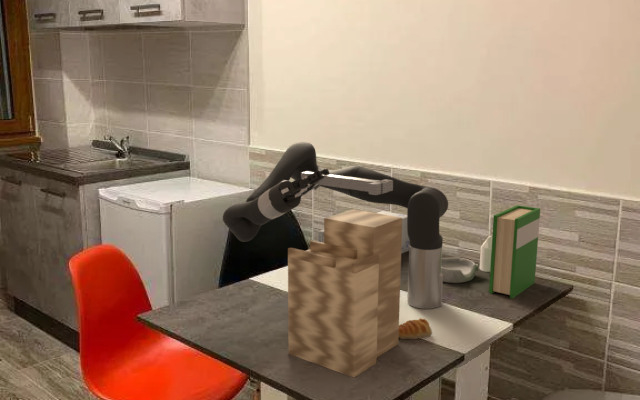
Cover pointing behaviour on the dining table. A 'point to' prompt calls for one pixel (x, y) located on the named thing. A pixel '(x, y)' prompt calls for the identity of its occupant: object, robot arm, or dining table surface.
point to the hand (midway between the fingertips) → (324, 173)
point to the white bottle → (486, 255)
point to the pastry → (415, 329)
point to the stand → (346, 292)
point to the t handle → (354, 183)
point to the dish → (458, 270)
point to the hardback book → (514, 250)
